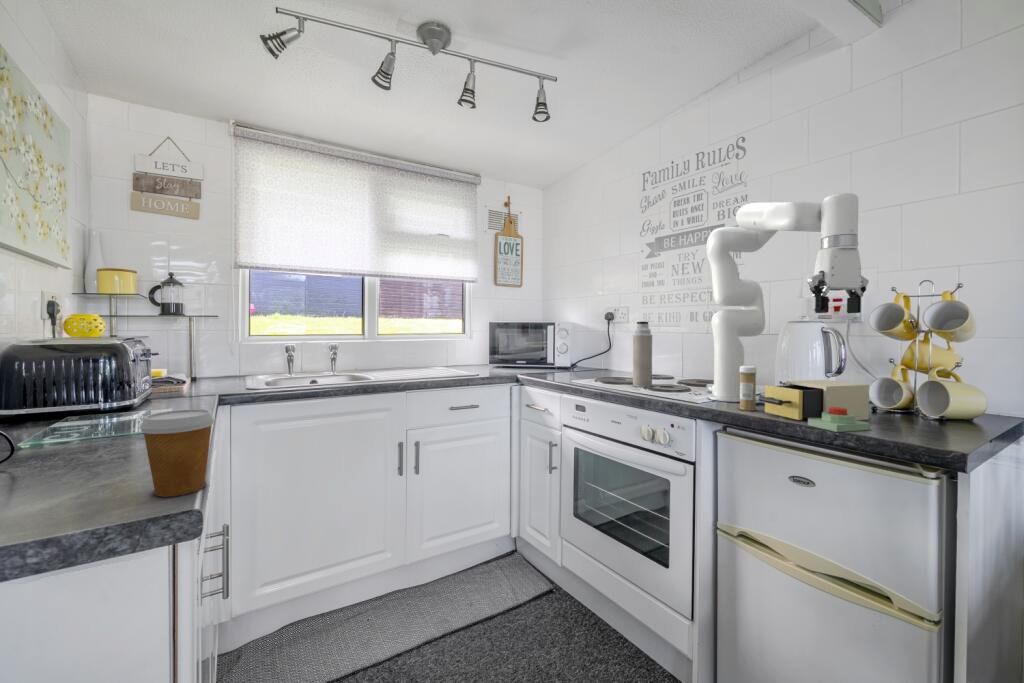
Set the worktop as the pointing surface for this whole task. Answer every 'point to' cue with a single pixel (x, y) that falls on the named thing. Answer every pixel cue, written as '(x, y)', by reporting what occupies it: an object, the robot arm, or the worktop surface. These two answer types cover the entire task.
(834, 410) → the button
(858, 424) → the control block
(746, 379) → the sprinkles bottle
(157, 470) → the disposable coffee cup
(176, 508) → the worktop surface
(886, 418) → the worktop surface
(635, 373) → the thermos bottle
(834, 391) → the drawer cabinet
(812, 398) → the yellow drawer
